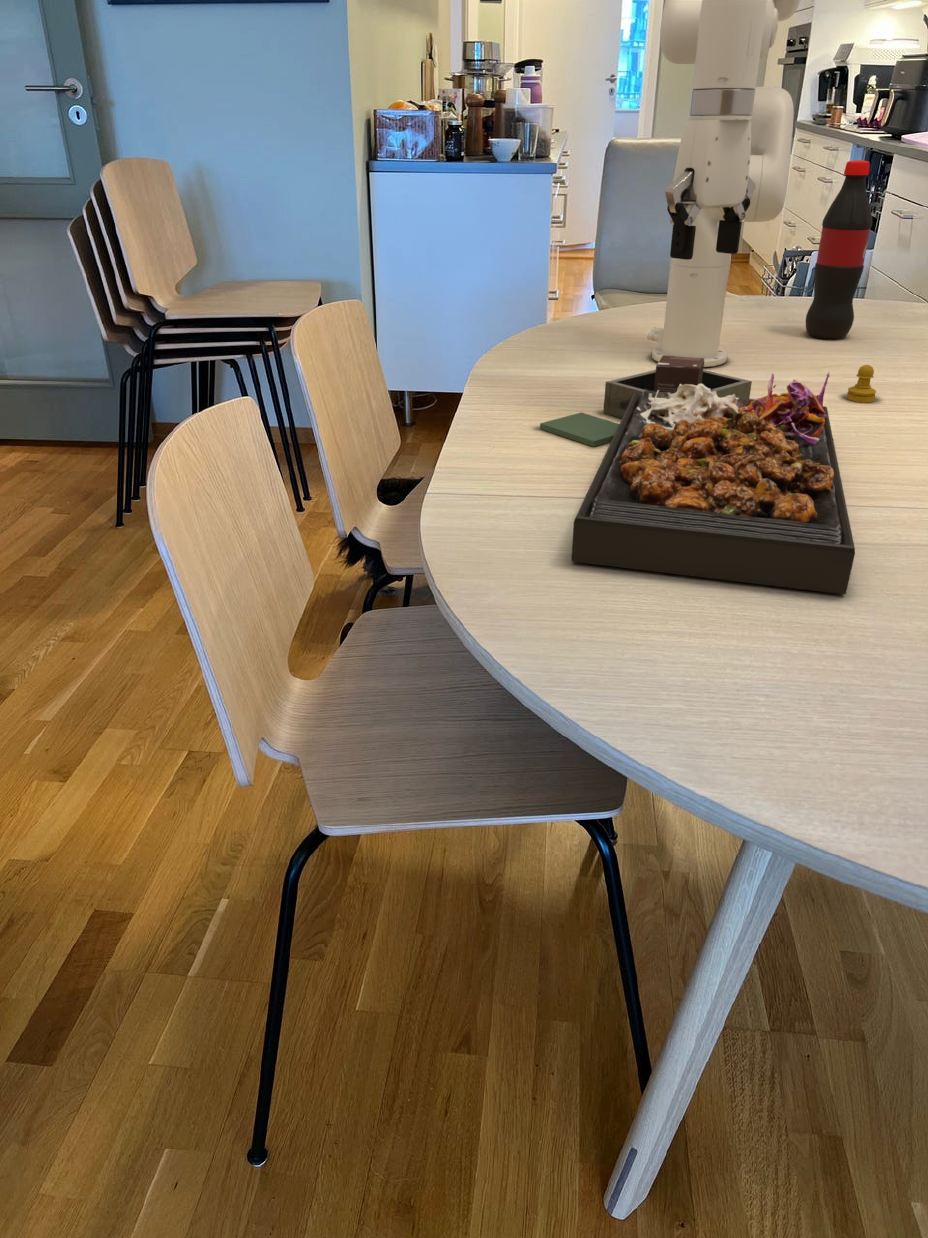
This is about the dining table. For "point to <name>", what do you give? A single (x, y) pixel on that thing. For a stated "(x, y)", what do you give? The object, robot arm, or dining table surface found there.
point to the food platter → (721, 491)
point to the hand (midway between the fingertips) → (704, 255)
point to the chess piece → (862, 386)
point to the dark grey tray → (624, 388)
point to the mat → (582, 428)
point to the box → (677, 373)
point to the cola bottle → (841, 256)
